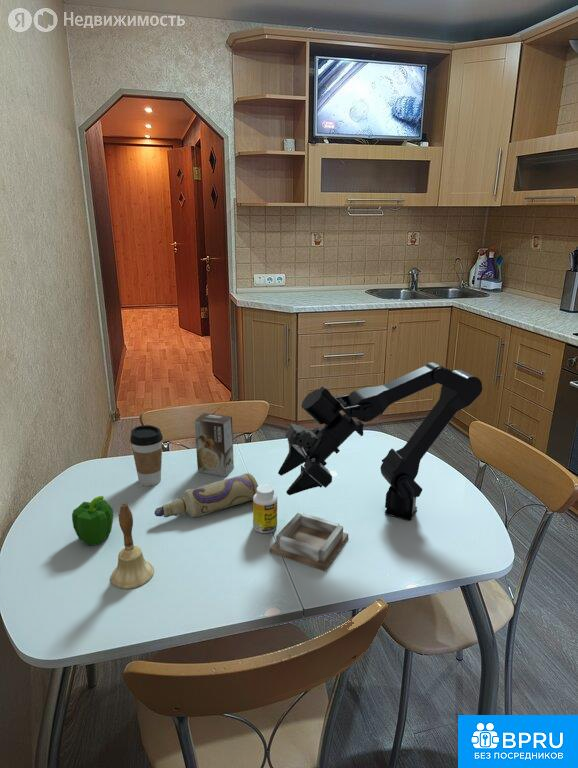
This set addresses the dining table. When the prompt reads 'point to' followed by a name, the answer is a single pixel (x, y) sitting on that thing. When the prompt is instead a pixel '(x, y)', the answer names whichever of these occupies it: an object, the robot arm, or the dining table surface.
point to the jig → (310, 540)
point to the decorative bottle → (212, 497)
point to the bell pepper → (93, 521)
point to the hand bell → (130, 557)
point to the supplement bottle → (265, 509)
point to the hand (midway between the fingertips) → (283, 483)
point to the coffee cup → (147, 453)
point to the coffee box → (214, 444)
